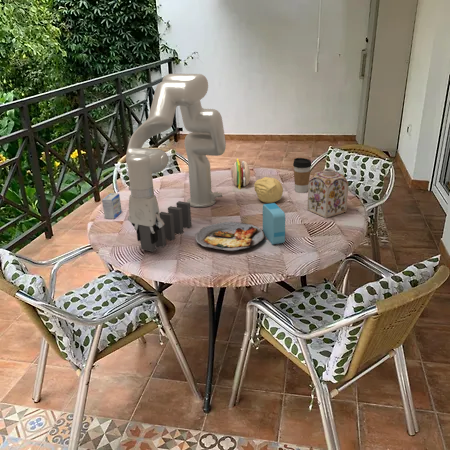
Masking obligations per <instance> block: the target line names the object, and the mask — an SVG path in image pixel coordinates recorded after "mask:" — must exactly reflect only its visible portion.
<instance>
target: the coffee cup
mask: <svg viewBox="0 0 450 450" xmlns="http://www.w3.org/2000/svg"><path fill="white" fill-rule="evenodd" d="M292 167H293V177H294V178H293V179H294V191H295V193H299V194H302V193H308V186H309V180H310V178H311V168H312V161H311V159H308V158H304V157H296V158H294V160H293V164H292Z"/></svg>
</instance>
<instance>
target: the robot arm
mask: <svg viewBox="0 0 450 450" xmlns="http://www.w3.org/2000/svg"><path fill="white" fill-rule="evenodd" d="M208 91H209V82H208V79H207V77H206V75H204V74H202V73H168V74H166V75H164V76H163V78H162V81H161V82H159V83H157V85H156V86H155V90H154V95H153V98H152V102H151V106H150V110H149V114H148V118H147V119H146V120H145V121H144V122H143V123H141V124H140V125H139V126H138V127H137V128H136V130H134V132H133V133H132V135H131V137H130V138H129V142H128V144H127V149H126V153H125V162H126V166H127V171H128V179H129V187H128V191H130V194H129V196H128V215H129V216H128V217H127V221H128V222H129V223H131V225H132V226H133V227H134V228H133V229H134V230H135V231H136V237H137V238H136V239H137V241H138V242H140V234H139V226H138V225H143V226H148V227H150V230H151V232H152V233H151V234H150V237H151V243H152V244H154V243H155V242H157V241H158V233H157V231H158V230H159V229H160V228H161V227H162V226H164V225H165V224H164V222H163V221H162V220H161V218H160V208H159V203H158V198H157V196H156V194H155V190H154V181H153V174H155V173H159V172H163V171H164V169H166V168H167V166H168V164H169V157H168V154H167V152H165V150H162V149H159V148H158V149H157V148H145V147H143V146H144V145H145V143H146V142H147V141H148V140H149V139H151V138H152V137H155V136H156V135H159V134H162V133H164V132H166V131H168V130H169V129H171V128H172V126H173V124H174V119H175V118H174V117H175V114H176V109H177V107H179V111H180V113H181V118H182V123H183V126H184V129H185V130H186V131H187V132H189V133H187V134H186V136H185V138H184V148H185V152H186V158H187V165H188V179H189V181H188V183H189V195H190V197H189V198H188V199H187V201H186V202H188V203H190V207H193V208H207V207H210V206H213V205H215V203H216V199H217V198H222V197H223V192H218V191H215V192H213V191H212V173H211V163H210V160H209V158H208V157H207V156H213V157H214V156H215V157H216V156H217V157H218V156H219V157H220V156H222V155H223V154H225V152H226V149H227V148H226V146H227V143H226V136H225V130H224V129H225V128H224V123H223V118H222V115H221V112H219V110H217V109H214V108H204V107H202V104H201V103H202V101H201V100H203V98H205V96H207V93H208ZM157 223H158V225H157ZM153 226H154V227H153Z"/></svg>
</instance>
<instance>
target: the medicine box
mask: <svg viewBox="0 0 450 450" xmlns="http://www.w3.org/2000/svg"><path fill="white" fill-rule="evenodd" d="M101 202H102V209H103V214H104V215H103V216H104V218H105V219H106V220H107V219H108V220H109V219H111V220H115V219H116V218H117V217H118V216H119V215H120V214H121V213H122V212H123V211H122V203H121V197H120V193H115V192H113V193H109V194H108V195H106V196H105V197H103V198H102V200H101Z"/></svg>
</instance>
